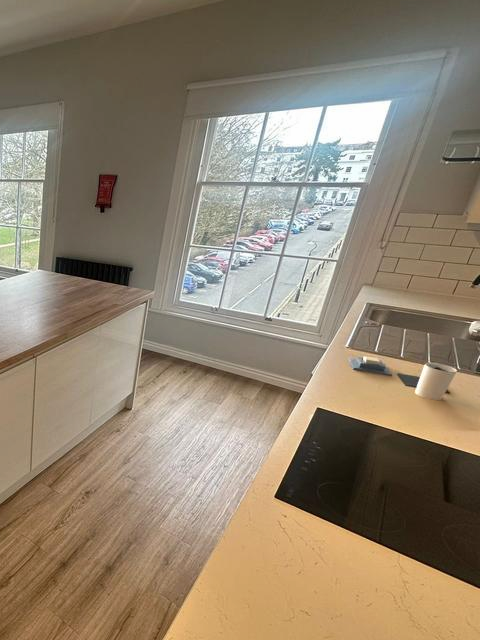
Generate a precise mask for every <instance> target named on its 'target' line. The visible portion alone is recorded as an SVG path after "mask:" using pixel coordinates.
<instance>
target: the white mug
mask: <svg viewBox="0 0 480 640" xmlns="http://www.w3.org/2000/svg"><path fill="white" fill-rule="evenodd" d="M457 372H458V369H456V368H455V367H452V366H449V365H446V364H442V363H436V362H425V364H424V366H423V369H422V370H421V373H420V376H419V377H420V380H419V382H418V385H417V388H415V391H414V393H415V395H417V396H419V397H421V398H424V399H428V400H431V401H441V400H443V399H442V398H443V397H444V395H445V394H446V393H445V392H446V390H448V388H449V386H450V385H451V382H452V381H453V379H454V377H455V375H456V374H457Z"/></svg>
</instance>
